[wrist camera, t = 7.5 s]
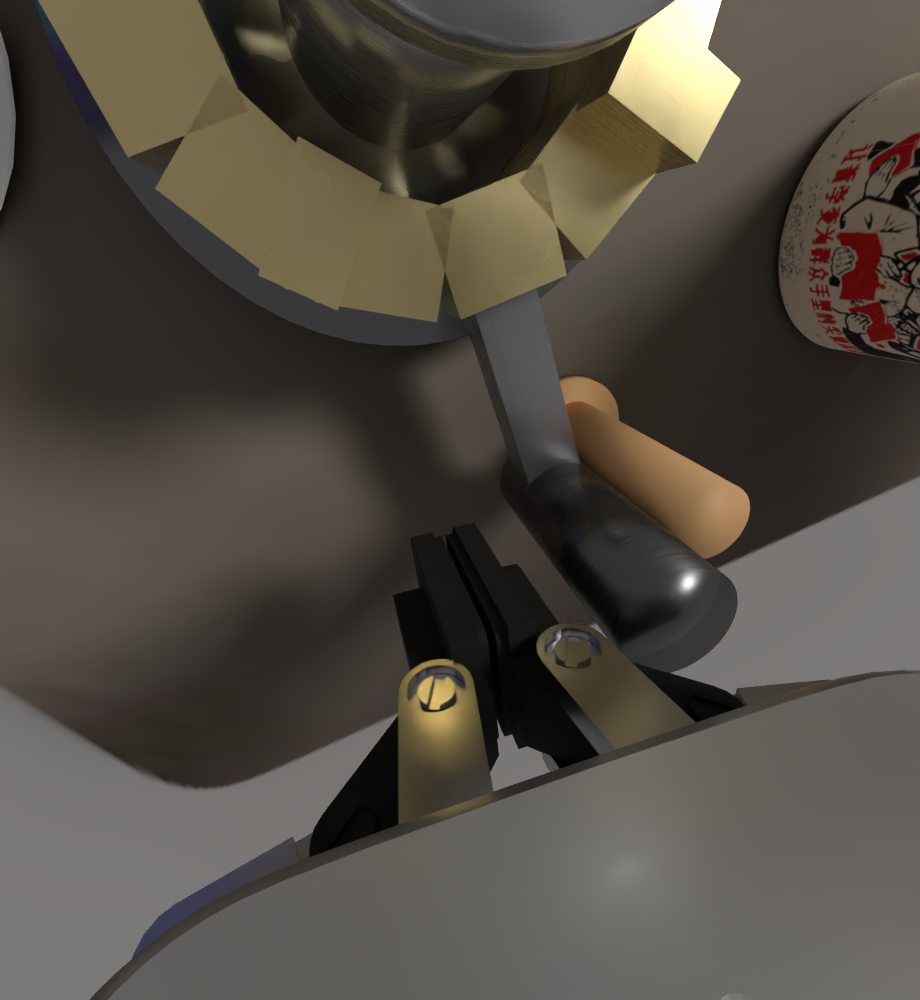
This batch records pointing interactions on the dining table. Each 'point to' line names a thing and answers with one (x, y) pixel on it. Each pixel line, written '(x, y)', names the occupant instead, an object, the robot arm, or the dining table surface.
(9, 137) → the pudding
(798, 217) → the teacup with lid
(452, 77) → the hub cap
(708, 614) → the segmented ring with handle
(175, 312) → the dining table surface
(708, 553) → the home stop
